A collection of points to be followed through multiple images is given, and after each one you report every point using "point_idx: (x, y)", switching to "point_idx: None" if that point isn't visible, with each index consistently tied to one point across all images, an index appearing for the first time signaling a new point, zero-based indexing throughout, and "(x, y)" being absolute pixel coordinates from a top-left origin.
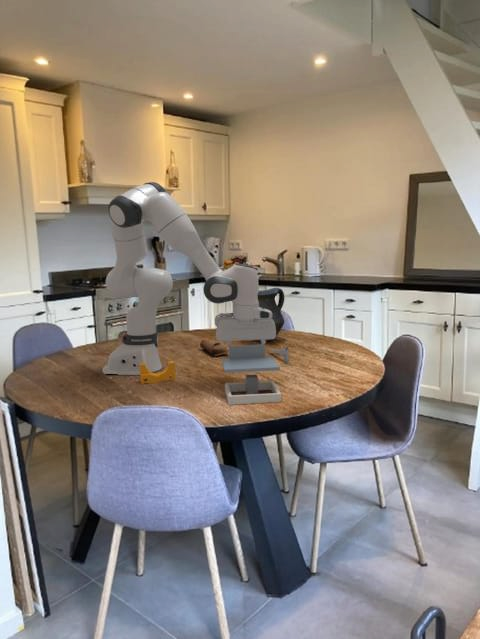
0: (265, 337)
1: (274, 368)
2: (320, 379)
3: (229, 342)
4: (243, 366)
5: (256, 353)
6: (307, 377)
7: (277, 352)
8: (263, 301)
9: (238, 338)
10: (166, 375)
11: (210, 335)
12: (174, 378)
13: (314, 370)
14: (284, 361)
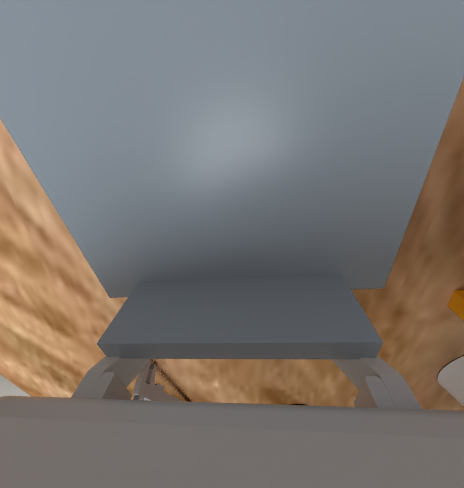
0: (43, 419)
1: None
2: (39, 260)
3: (387, 392)
4: None
5: (174, 297)
6: (79, 278)
7: (170, 398)
8: None
9: (314, 432)
10: None
11: None
12: (460, 294)
13: (80, 320)
14: (155, 366)
